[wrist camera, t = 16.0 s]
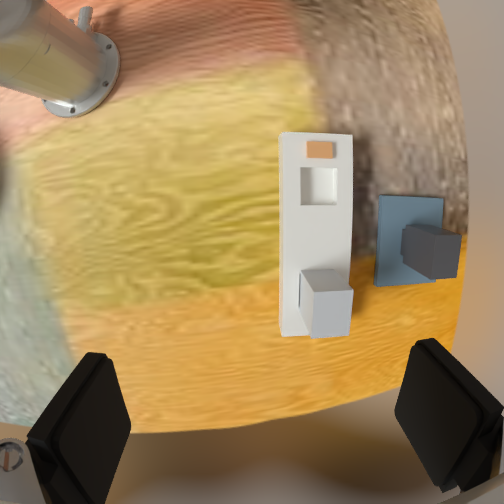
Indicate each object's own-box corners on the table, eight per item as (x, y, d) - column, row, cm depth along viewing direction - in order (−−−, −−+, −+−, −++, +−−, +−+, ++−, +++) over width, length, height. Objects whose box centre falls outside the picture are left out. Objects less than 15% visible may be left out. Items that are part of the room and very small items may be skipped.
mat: (379, 195, 38) (382, 195, 37) (439, 198, 38) (443, 198, 37) (373, 284, 40) (376, 286, 40) (431, 279, 41) (435, 282, 40)
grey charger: (298, 266, 37) (313, 292, 29) (330, 265, 37) (353, 289, 29) (297, 305, 38) (311, 338, 30) (328, 303, 39) (348, 335, 30)
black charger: (400, 222, 38) (435, 235, 29) (425, 223, 38) (461, 235, 30) (397, 260, 39) (430, 279, 31) (421, 259, 39) (456, 277, 31)
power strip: (278, 135, 36) (283, 131, 32) (342, 138, 36) (354, 134, 32) (278, 324, 41) (282, 339, 37) (336, 320, 42) (345, 334, 38)
